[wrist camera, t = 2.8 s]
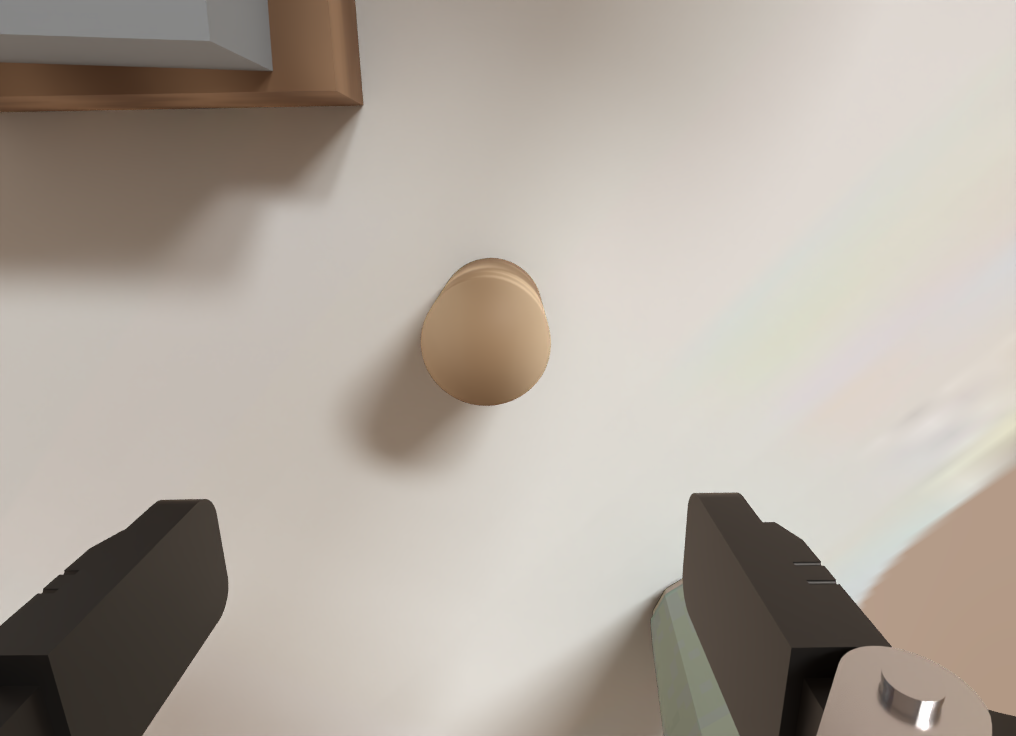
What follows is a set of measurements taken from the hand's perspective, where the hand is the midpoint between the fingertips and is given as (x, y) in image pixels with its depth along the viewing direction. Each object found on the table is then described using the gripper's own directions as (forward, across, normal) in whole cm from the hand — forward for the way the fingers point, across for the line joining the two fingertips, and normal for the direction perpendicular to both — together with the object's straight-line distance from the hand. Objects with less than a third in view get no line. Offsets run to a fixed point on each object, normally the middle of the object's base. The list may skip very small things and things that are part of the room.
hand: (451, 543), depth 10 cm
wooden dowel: (+20, 0, 0) cm, 21 cm away
